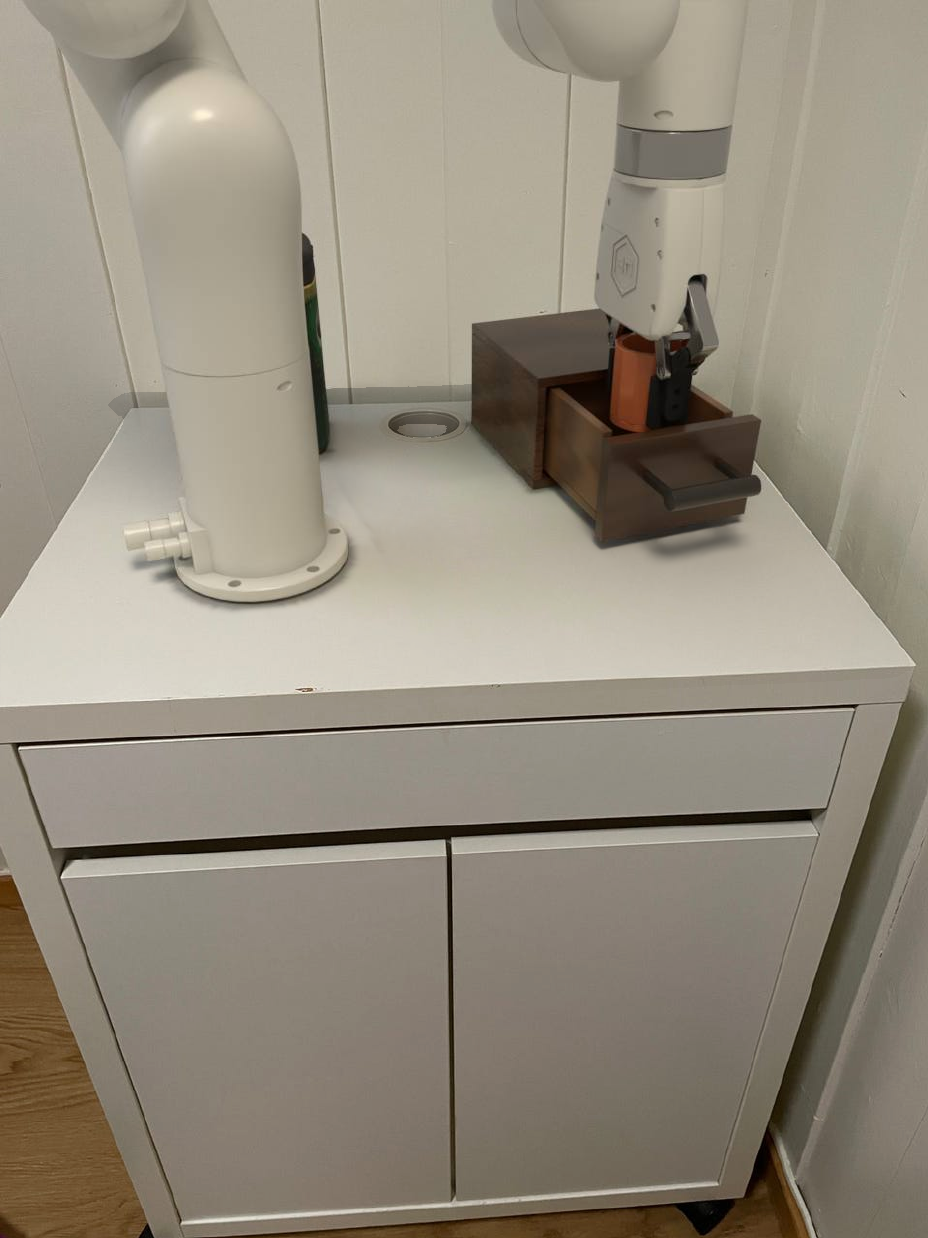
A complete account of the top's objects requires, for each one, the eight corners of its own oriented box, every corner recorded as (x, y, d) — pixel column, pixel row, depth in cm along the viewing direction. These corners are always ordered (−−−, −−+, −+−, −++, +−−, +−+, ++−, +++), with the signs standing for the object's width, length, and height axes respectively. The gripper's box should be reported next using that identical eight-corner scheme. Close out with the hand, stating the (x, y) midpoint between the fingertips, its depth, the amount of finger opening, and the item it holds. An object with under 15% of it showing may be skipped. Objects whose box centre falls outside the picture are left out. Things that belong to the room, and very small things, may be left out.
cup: (630, 437, 73) (637, 359, 70) (597, 410, 77) (602, 335, 74) (693, 427, 74) (703, 350, 71) (657, 401, 79) (665, 327, 75)
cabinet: (675, 464, 85) (690, 357, 80) (533, 489, 81) (537, 378, 76) (599, 404, 97) (607, 307, 91) (471, 423, 93) (471, 323, 87)
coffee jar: (244, 422, 93) (216, 216, 82) (328, 417, 94) (311, 213, 83) (241, 466, 85) (209, 244, 75) (332, 460, 86) (314, 240, 76)
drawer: (781, 542, 72) (801, 445, 68) (632, 573, 69) (644, 472, 64) (657, 445, 86) (667, 359, 82) (529, 467, 83) (532, 378, 79)
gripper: (564, 138, 71) (553, 379, 81) (689, 182, 57) (657, 463, 68) (655, 132, 73) (634, 367, 83) (797, 172, 60) (750, 446, 70)
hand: (645, 408), depth 75 cm, fingers closed on cup, 5 cm apart
